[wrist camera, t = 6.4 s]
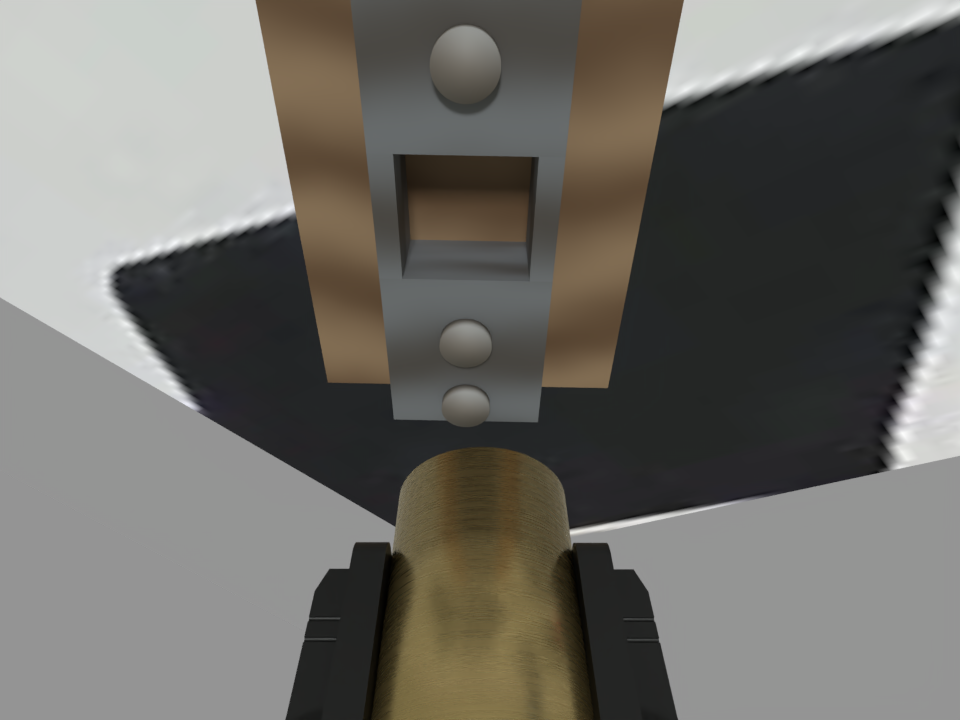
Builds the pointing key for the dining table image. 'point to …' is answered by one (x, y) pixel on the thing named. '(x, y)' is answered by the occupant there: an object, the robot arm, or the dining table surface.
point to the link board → (469, 187)
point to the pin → (482, 596)
